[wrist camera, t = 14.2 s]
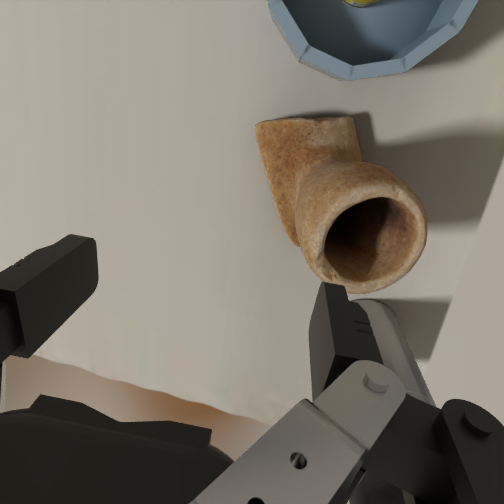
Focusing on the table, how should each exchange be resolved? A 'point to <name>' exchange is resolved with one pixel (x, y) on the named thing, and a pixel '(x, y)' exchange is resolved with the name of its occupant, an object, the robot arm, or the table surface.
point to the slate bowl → (367, 33)
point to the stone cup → (341, 203)
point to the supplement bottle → (360, 3)
